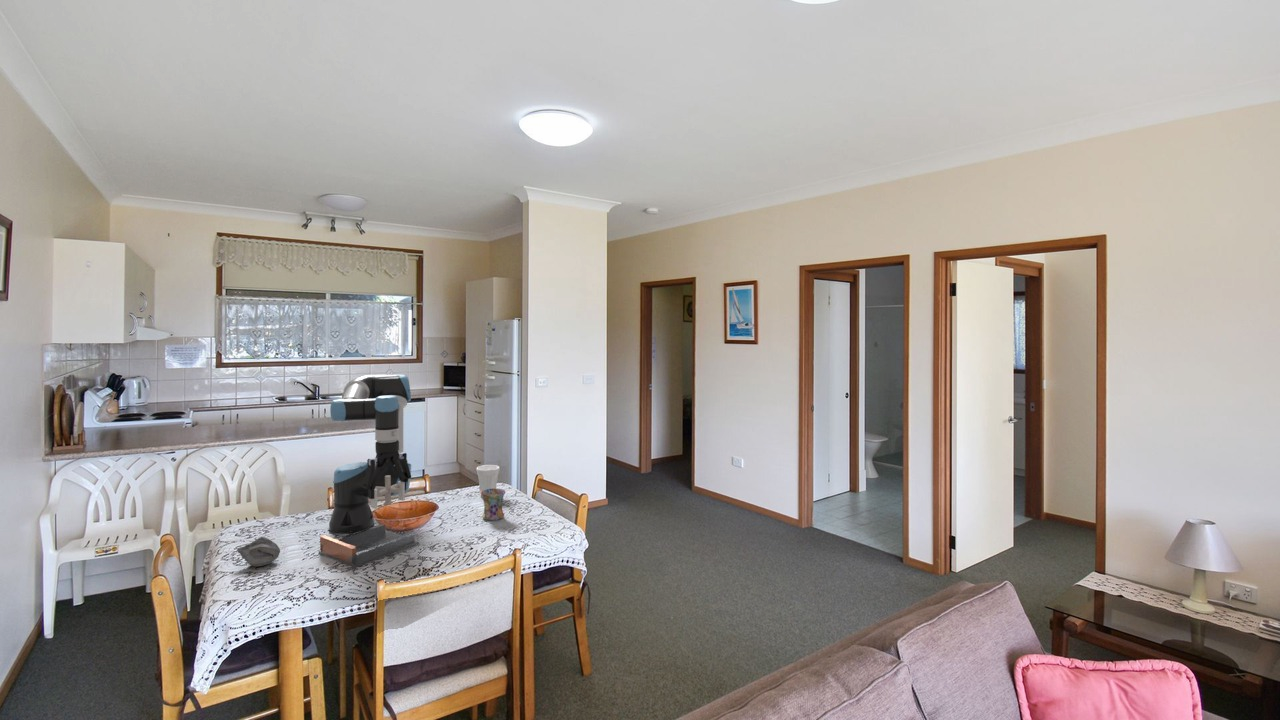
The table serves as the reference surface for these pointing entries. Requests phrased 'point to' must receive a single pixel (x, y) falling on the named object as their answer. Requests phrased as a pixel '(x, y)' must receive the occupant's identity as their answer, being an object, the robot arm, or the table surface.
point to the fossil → (260, 552)
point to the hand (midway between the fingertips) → (388, 503)
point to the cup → (487, 476)
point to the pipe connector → (388, 490)
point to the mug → (493, 503)
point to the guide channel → (365, 545)
